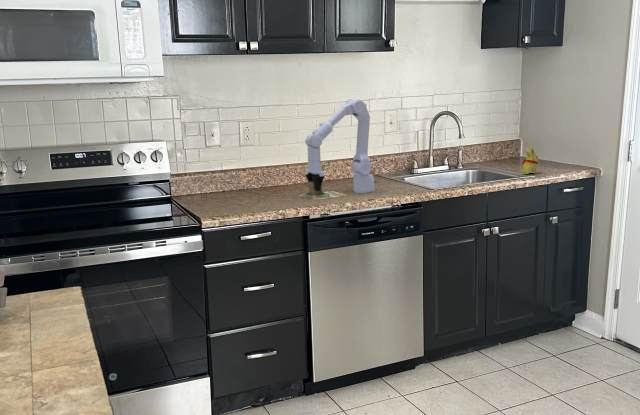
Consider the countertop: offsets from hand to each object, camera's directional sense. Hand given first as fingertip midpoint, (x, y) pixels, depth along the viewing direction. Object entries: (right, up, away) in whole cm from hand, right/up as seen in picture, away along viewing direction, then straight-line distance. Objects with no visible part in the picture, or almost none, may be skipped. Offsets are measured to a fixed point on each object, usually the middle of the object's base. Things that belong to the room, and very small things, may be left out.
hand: (315, 190), depth 291 cm
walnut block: (0, -2, 0) cm, 2 cm away
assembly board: (+4, -3, +3) cm, 6 cm away
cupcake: (+27, +5, +40) cm, 49 cm away
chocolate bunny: (+115, +10, +51) cm, 126 cm away
